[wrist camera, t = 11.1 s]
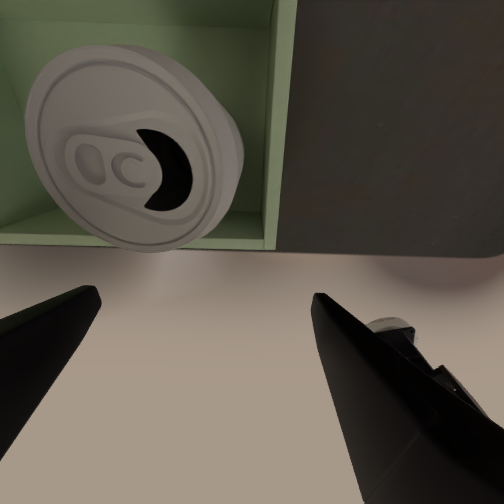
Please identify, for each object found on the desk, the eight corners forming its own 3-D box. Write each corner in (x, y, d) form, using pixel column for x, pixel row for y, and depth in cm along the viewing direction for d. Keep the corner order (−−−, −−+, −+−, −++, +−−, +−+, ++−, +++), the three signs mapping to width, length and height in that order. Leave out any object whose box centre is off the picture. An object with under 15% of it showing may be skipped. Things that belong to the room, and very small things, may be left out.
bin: (281, 18, 14) (304, -73, 8) (268, 217, 20) (275, 250, 14) (-23, 7, 14) (-238, -96, 8) (62, 212, 20) (-20, 243, 14)
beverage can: (240, 196, 19) (227, 273, 8) (166, 185, 18) (46, 252, 7) (250, 110, 16) (250, 48, 5) (162, 95, 15) (-47, -9, 5)
